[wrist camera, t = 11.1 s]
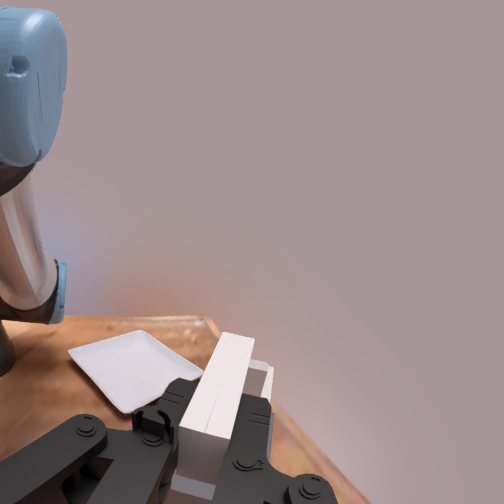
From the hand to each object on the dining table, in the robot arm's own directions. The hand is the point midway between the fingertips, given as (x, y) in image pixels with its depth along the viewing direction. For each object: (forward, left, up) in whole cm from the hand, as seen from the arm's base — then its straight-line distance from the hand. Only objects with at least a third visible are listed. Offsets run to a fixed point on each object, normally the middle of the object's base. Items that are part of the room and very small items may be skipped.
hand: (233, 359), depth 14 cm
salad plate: (-40, -5, -33) cm, 52 cm away
